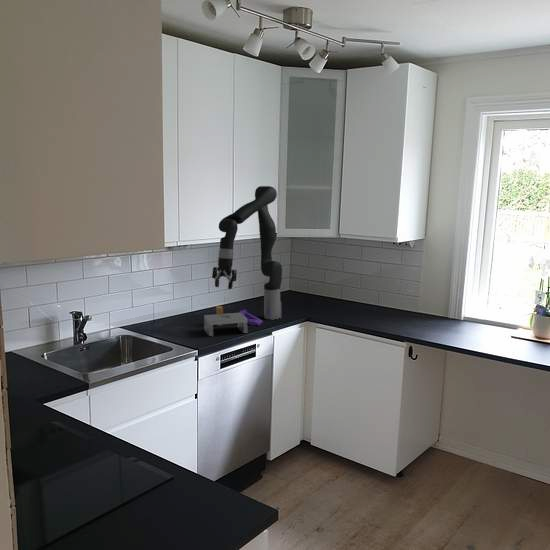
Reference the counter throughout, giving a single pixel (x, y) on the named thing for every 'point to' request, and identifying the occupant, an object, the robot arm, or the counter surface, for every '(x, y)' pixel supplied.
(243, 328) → the grey slotted platform
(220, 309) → the orange rectangular block
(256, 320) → the bracket
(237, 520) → the counter surface
